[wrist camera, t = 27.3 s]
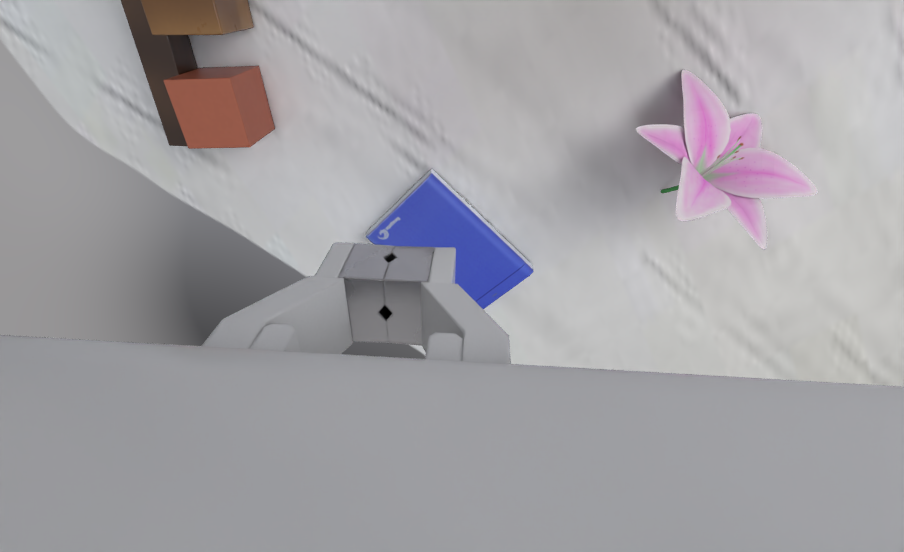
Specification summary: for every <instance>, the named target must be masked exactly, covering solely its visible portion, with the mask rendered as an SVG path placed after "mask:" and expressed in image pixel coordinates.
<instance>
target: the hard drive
mask: <svg viewBox="0 0 904 552" xmlns="http://www.w3.org/2000/svg"><path fill="white" fill-rule="evenodd" d="M366 238H368V239H369V240H370V241H371V242H372V243H373V244H375V245H390V246H412V247H434V248H435V247H455V249H456V267H455V284H458V285H459V286H460V287H461V288H462V289H463V290H464V291H465V292H466V293H467V294H468V295H469V296H470V297H471V298H472V299H473V300H474V301H475V302H476V303H477V304H478V305H479V306H480V307H481V308H482V309H484V308H486V307H487V306H488V305H490V304H491V303H492V302H494V301H495V300H497V299H498V298H499V297H501V296H502V295H503V294H505V293H506V292H508V291H509V290H510V289H512V288H513V287H515V286H516V285H517V284H519V283H520V282H521V281H523V280H524V279H526V278H527V277H528V276H530V275H531V274H532V273H533V266H532V264H531V263H530V262H529V261H528V260H527V259H526V258H525V257H524V256H523V255H522V254H521V253H520V252H518V251H517V250H516V249H515V248H514V247H513V246H512V245H511V244H510V243H509V242H508V241H507V240H506V239H505V238H504V237H503V236H502V235H501V234H500V233H499V232H498V231H496V230H495V229H494V228H493V227H492V226H491V225H490V224H489V223H488V222H487V221H486V220H485V219H484V218H483V217H482V216H481V215H480V214H479V213H478V212H477V211H476V210H475V209H474V208H472V207H471V206H470V205H469V204H468V203H467V202H466V201H465V200H464V199H463V198H462V197H461V196H460V195H459V194H458V193H457V192H456V191H455V190H454V189H452V188H451V187H450V186H449V185H448V184H447V183H446V182H445V181H444V180H443V179H442V178H441V177H440V176H439V175H438V174H437V173H436V172H435V171H434V170H433V169H431V170H430V171H429V172H427V173H426V174H425V175H424V176H423V177H422V178H421V179H420V180H419V181H418V182H417V183H416V184H415V185H414V186H413V187H412V188H411V189H410V190H409V191H408V192H407V193H406V194H405V195H404V196H403V197H402V198H401V199H400V200H399V201H398V202H397V203H396V204H395V205H394V206H393V207H392V208H391V209H390V210H389V211H387V212H386V213H385V214H384V215H383V216H382V217H381V218H380V219H379V220H378V221H377V222H376V223H375V224H374V225H373V226H372V227H371V228H370V229H369V231H368V233H367V235H366Z"/></svg>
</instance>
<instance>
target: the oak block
mask: <svg viewBox="0 0 904 552" xmlns="http://www.w3.org/2000/svg"><path fill="white" fill-rule="evenodd" d="M141 3H142V6H143V9H144V12H145V15H146V17H147V20H148V23H149V26H150V29H151V32H152V34H153V35H223V34H228V33H232V32H236V31H241V30H245V29H249V28H253V22H252V17H251V13H250V9H249V4H248V0H141Z"/></svg>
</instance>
